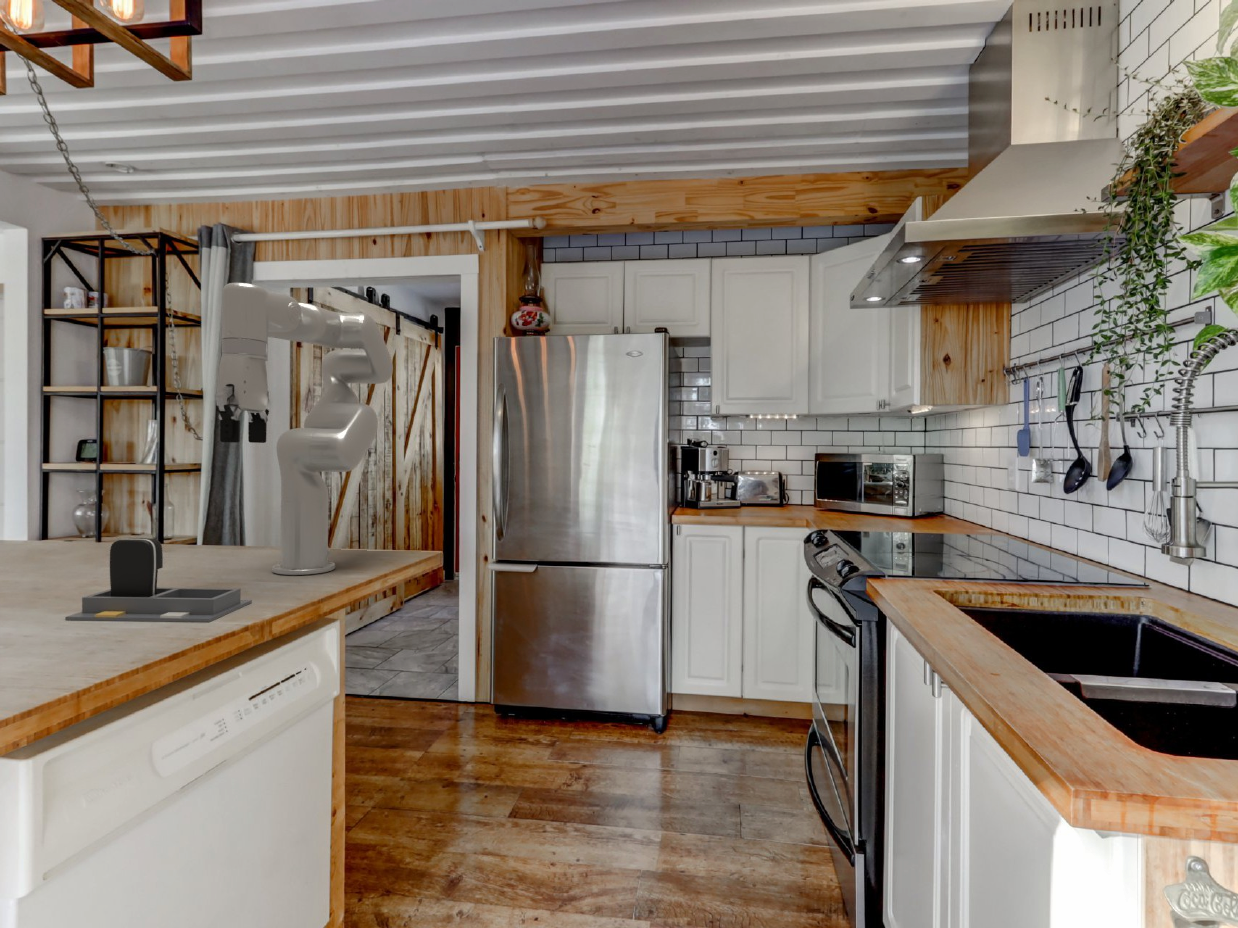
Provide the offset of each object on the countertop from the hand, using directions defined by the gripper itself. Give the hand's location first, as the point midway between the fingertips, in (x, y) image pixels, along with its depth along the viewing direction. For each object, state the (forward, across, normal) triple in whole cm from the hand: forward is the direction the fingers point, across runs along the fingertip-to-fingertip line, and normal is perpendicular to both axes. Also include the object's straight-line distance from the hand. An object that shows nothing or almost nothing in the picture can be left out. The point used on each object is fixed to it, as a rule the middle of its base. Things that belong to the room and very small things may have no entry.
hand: (244, 442), depth 125 cm
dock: (+28, +15, -5) cm, 32 cm away
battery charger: (+28, +14, -10) cm, 33 cm away
